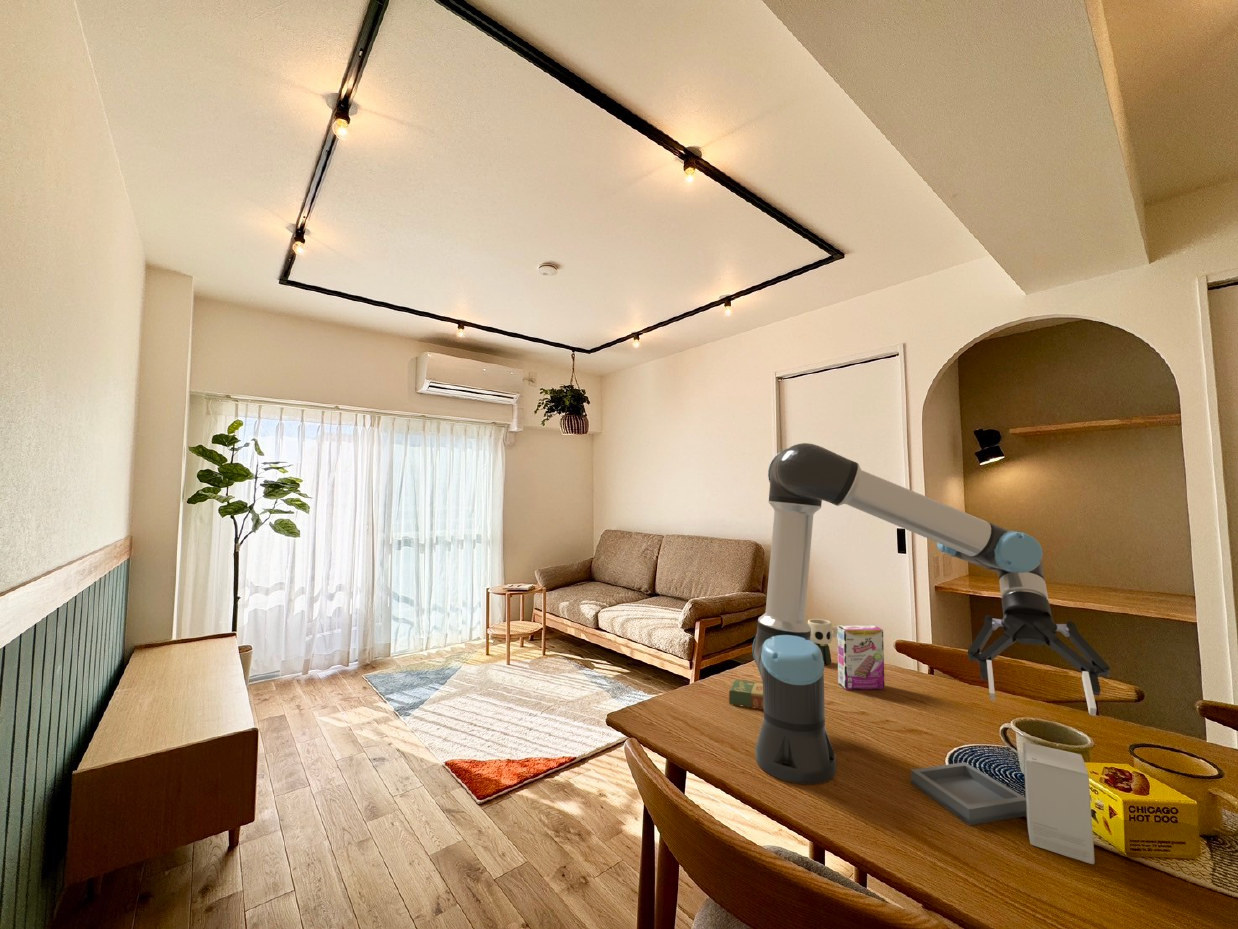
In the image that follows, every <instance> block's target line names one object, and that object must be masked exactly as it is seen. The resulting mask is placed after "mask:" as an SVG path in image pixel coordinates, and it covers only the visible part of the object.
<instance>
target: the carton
mask: <svg viewBox="0 0 1238 929" xmlns="http://www.w3.org/2000/svg"><path fill="white" fill-rule="evenodd" d="M728 697H729V698H728V702H729V705H730V704H733V705H732V706H737V705H743V706H749V707H748V708H750V707H755V708H754V709H756V708H761V709H760V710H762V709H763V682H757V681H750V680H743V679H734V680H733V683H732V685H731V687H730V688H729V691H728ZM743 706H742V707H743Z"/></svg>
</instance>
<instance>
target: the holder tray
mask: <svg viewBox="0 0 1238 929" xmlns="http://www.w3.org/2000/svg"><path fill="white" fill-rule="evenodd" d="M910 780H911V781H910V782H911V783H910V784H911V785H912V786H913V787H915V788H917V789H918V790H920V791H921V792H922V793H924V794H925V795H926V796H928V797H929V798H931V800H933V801H934V802H936V803H937V804H939V805H940V806H941V807H943V808H945V809H946V811H947V810H948V811H949V813H951V814H952V815H954V816H955V817H957V818H958V819H959V820H961V821H963V823H965V824H966V825H969V826H976V825H981V824H982V825H983V824H987V823H994V822H998V821H1004V820H1010V819H1016V818H1023V817H1027V808H1026V796H1023V795H1022V794H1020V793H1018V792H1017V791H1015V790H1014V789H1013V788H1010V787H1008V786H1007V785H1005V784H1003V783H1002V782H1000V781H998V780H996V779H995V778H993V777H991V776H990V775H987V774H986V773H984V772H983V771H982V770H979V769H977V768H976V767H974V766H972V765H970V764H969V763H967V762H965V761H963V762H957V763H951V764H950V763H949V764H948V763H947V764H941V765H937V766H936V765H935V766H934V765H933V766H928V767H922V768H921V767H920V768H915V769H913V768H911V769H910Z"/></svg>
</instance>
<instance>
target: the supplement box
mask: <svg viewBox="0 0 1238 929" xmlns="http://www.w3.org/2000/svg"><path fill="white" fill-rule="evenodd" d="M1022 748H1023V749H1022V750H1023V753H1022V754H1023V770H1024V786H1025V787H1024V788H1025V791H1024V792H1025V798H1026V808H1027V816H1026V821H1027V822H1026V824H1027V825H1026V826H1027V831H1028V836H1029V837H1028V839H1029V843H1030V845H1031V846H1034V847H1037V848H1041V849H1043V850H1045V851H1050V852H1052V853H1056V854H1059V855H1062V856H1065V857H1068V858H1071V859H1073V860H1077V861H1081V862H1083V863H1087V864H1090V865H1094V864H1095V848H1094V847H1095V846H1094V836H1093V835H1094V833H1093V819H1092V807H1091V790H1090V774H1089V771H1088V769H1087V765H1086V763H1085V760H1084V757H1083V756H1082V753H1075V752H1072V751H1067V750H1064V749H1058V748H1054V747H1053V748H1052V747H1048V746H1044V745H1039V744H1034V743H1029V742H1025V741H1023V746H1022Z"/></svg>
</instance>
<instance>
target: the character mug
mask: <svg viewBox="0 0 1238 929" xmlns="http://www.w3.org/2000/svg"><path fill="white" fill-rule="evenodd" d="M807 623H808V625H809V626H810V627H811V637H810V641H812V642H813V643H815V644H816V645H817V646H818V647H819V648H820V650H821V652H822V657H823V661H824V664H826V665H830V664H832V656H831V650H830V646H829V644H831V643H832V641H833V638H837V626H833V625H832V622H831V621H829V620H827V619H821V618H811V619H808V620H807Z"/></svg>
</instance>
